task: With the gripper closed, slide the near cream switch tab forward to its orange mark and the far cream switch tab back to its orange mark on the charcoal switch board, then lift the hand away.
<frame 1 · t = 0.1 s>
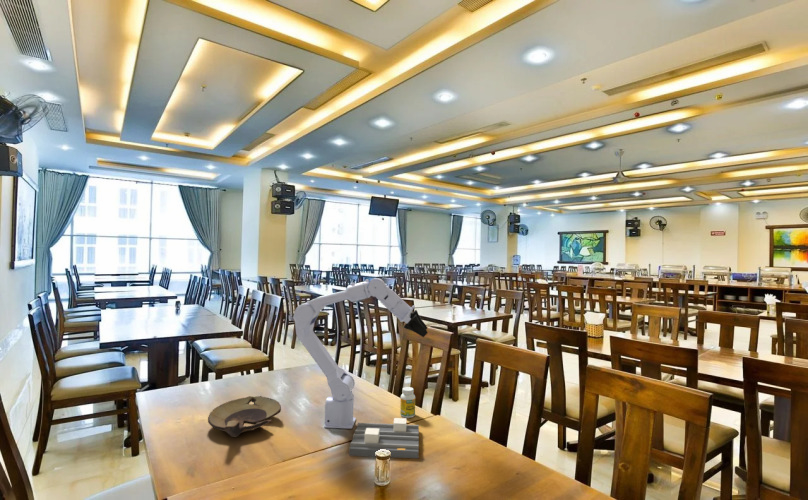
hand: (425, 332, 134), 32 cm above the table, tool tilted 50°, fingers open, 7 cm apart
far switch tab: (399, 425, 126), point 4 cm above the table, slide at 4.0 cm
near switch tab: (372, 436, 119), point 4 cm above the table, slide at -4.0 cm
grey shallow oval dish: (239, 428, 131), on the table
supplement bottle: (407, 415, 143), on the table
switch board: (386, 442, 123), on the table
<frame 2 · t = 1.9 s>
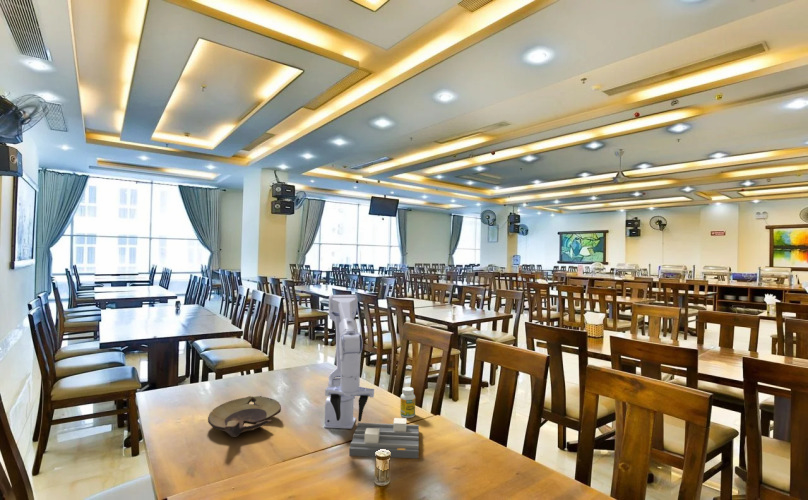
hand: (349, 419, 119), 8 cm above the table, tool pointing down, fingers open, 6 cm apart
nothing on the table moved.
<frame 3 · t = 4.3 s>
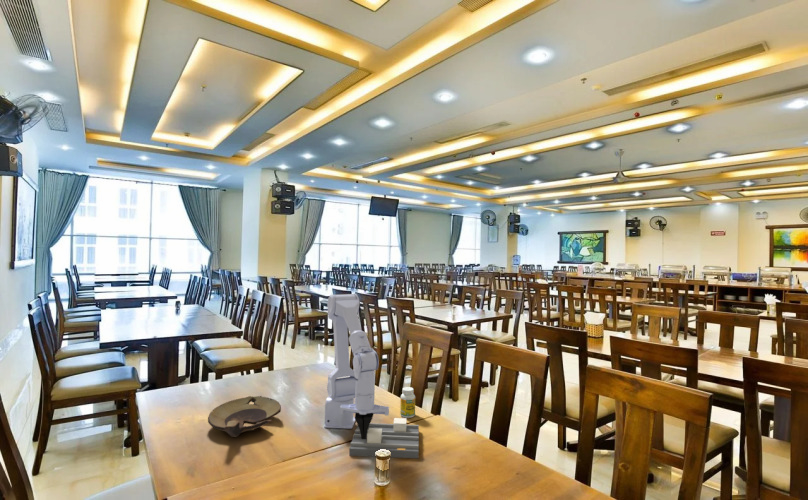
hand: (364, 437, 119), 3 cm above the table, tool pointing down, fingers closed
near switch tab: (374, 436, 119), point 4 cm above the table, slide at -3.2 cm, touching gripper
everything else where it was.
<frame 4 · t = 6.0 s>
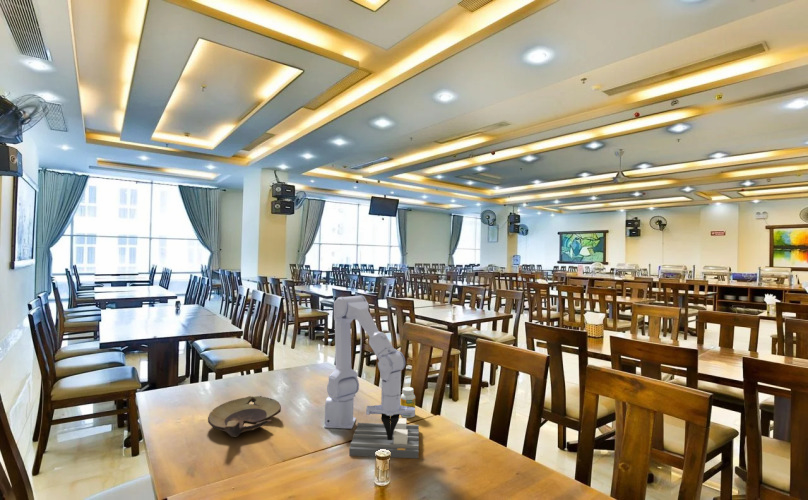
hand: (390, 438, 119), 3 cm above the table, tool pointing down, fingers closed
near switch tab: (400, 437, 118), point 4 cm above the table, slide at 4.6 cm, touching gripper
everything else where it was.
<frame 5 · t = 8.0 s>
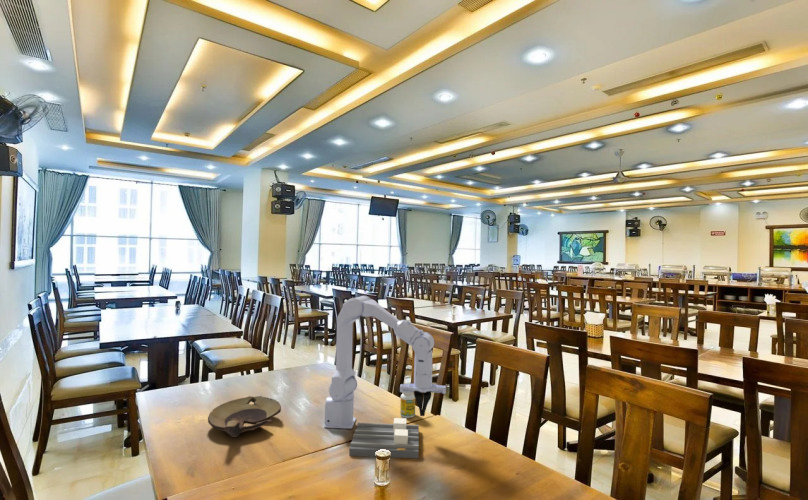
hand: (422, 414, 126), 7 cm above the table, tool pointing down, fingers closed
near switch tab: (401, 437, 118), point 4 cm above the table, slide at 4.7 cm
everything else where it was.
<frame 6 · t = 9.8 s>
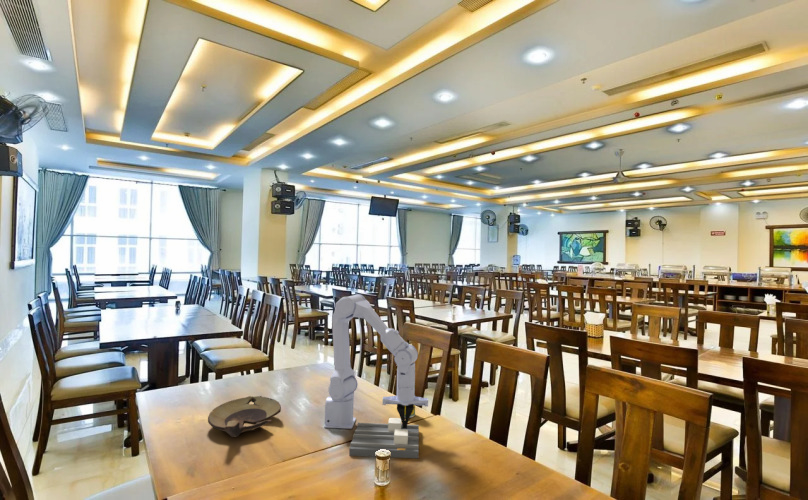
hand: (404, 427, 126), 3 cm above the table, tool pointing down, fingers closed
far switch tab: (394, 425, 127), point 4 cm above the table, slide at 2.3 cm, touching gripper
everything else where it was.
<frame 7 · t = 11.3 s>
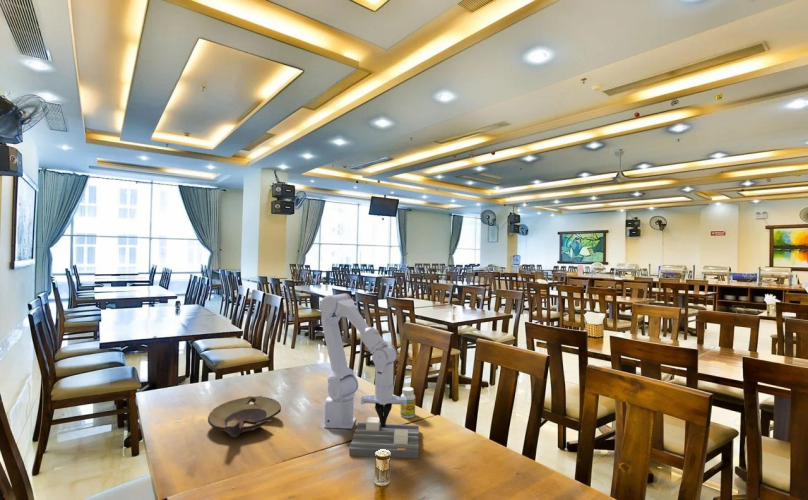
hand: (383, 426, 127), 3 cm above the table, tool pointing down, fingers closed
far switch tab: (373, 424, 127), point 4 cm above the table, slide at -4.6 cm, touching gripper
everything else where it was.
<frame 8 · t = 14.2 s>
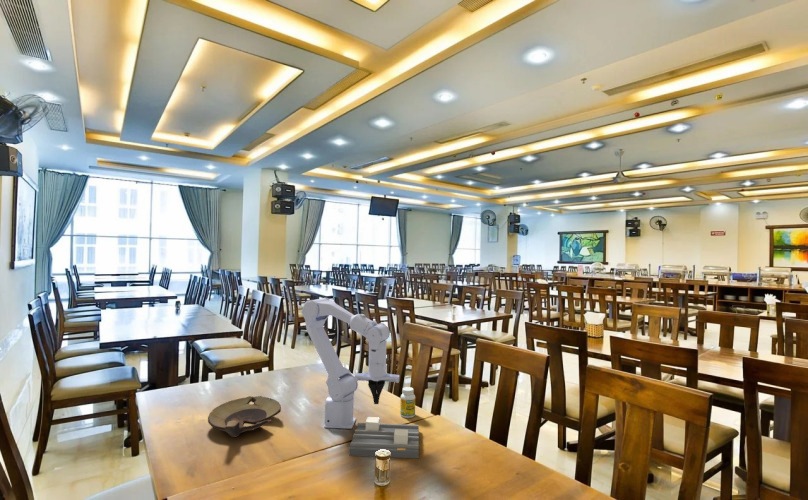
hand: (376, 403, 130), 9 cm above the table, tool pointing down, fingers closed
far switch tab: (372, 424, 127), point 4 cm above the table, slide at -4.8 cm
everything else where it was.
at the end: near switch tab slide at 4.7 cm; far switch tab slide at -4.8 cm; supplement bottle moved 0.2 cm from its start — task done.
